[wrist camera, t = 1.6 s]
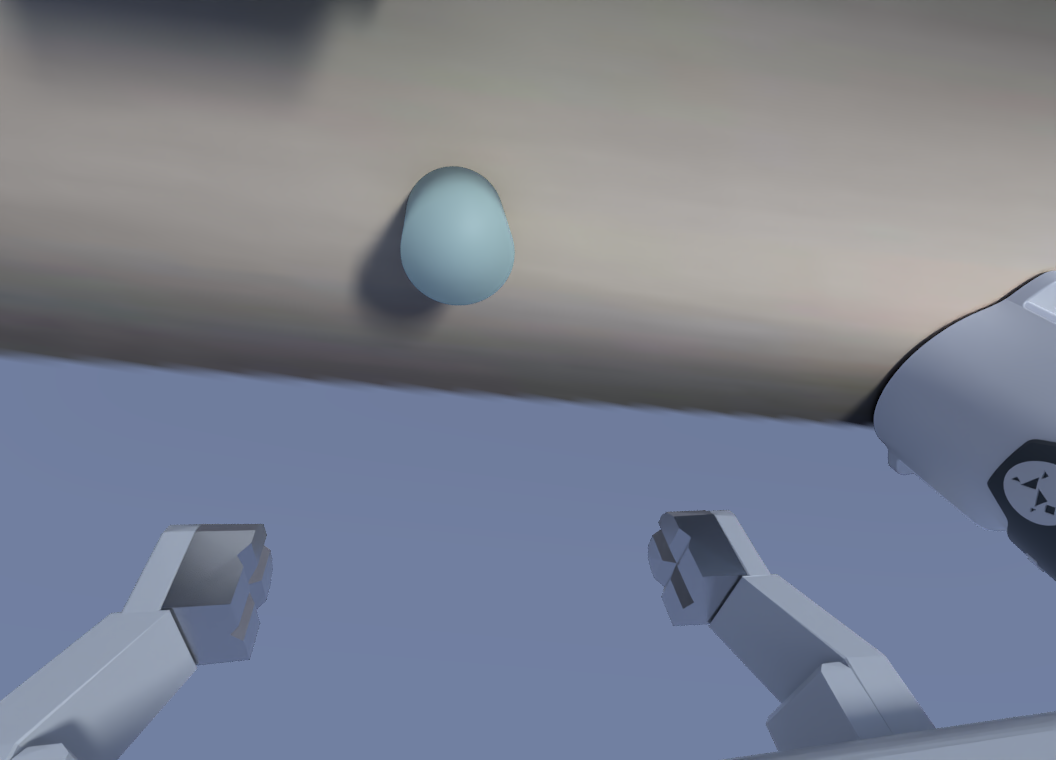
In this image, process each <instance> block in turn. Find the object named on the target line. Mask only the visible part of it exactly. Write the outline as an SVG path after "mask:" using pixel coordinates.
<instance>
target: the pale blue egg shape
mask: <svg viewBox="0 0 1056 760" xmlns="http://www.w3.org/2000/svg"><path fill="white" fill-rule="evenodd" d="M400 253H401V260H402V265H403V267H404V270H405V272H406V274H407V276H408V278H409V279H410V281H411V282H412V284H413V285H414V286H415V287H416V288H417V289H418V290H419V291H421V292H422V293H423V294H424V295H426V296H427V297H429V298H431V299H433V300H435V301H438V302H441V303H445V304H450V305H468V304H473V303H477V302H479V301H482V300H484V299H486V298H488V297H490V296H491V295H493V294H494V293H495V292H496V291H498V290H499V289H500V288H501V287H502V285H503V284H504V283H505V281H506V280H507V278H508V276H509V275H510V273H511V270H512V267H513V262H514V254H515V252H514V243H513V238H512V235H511V232H510V229H509V226H508V222H507V219H506V216H505V213H504V210H503V206H502V203H501V200H500V198H499V195H498V193H497V192H496V190H495V189H494V187H493V186H492V185H491V183H490V182H489V181H488V180H487V179H485V178H484V177H483V176H482V175H480V174H478V173H477V172H475V171H473V170H470V169H467V168H463V167H454V166H451V167H443V168H439V169H436V170H433V171H431V172H430V173H428V174H426V175H425V176H424V177H422V178H421V179H420V180H419V181H418V182H417V183H416V185H415V186H414V188H413V189H412V191H411V193H410V196H409V198H408V202H407V207H406V213H405V220H404V226H403V232H402V239H401V248H400Z"/></svg>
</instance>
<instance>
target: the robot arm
mask: <svg viewBox="0 0 1056 760" xmlns="http://www.w3.org/2000/svg"><path fill="white" fill-rule="evenodd" d="M874 429H875V432H876V434H877V436H878V437H879V439H880V440H881V441H882V442H883V443H884V444H885V445H886V446H887V448H888V463H889V466H890V467H891V468H893V469H894V470H895V471H896V472H897V473H899V474H901V475H907V474H916V475H917V476H918V477H919V478H920V479H922V480H923V481H924V482H925V483H926V484H927V485H929V486H930V487H931V488H932V489H933V490H935V491H936V492H937V493H938V494H939V495H941V496H942V497H943V498H944V499H945V500H947V501H948V502H949V503H950V504H951V505H953V506H954V507H955V508H956V509H957V510H958V511H960V512H961V513H962V514H963V515H964V516H966V517H967V518H968V519H969V520H971V521H972V522H973V523H974V524H976V525H977V526H979V527H980V528H982V529H985V530H993V531H1006V532H1007V534H1008V537H1009V539H1010V540H1011V541H1012V542H1013V543H1014V544H1015V545H1016V546H1017V547H1018V548H1019V549H1020V550H1021V551H1023V552H1024V553H1025V554H1026V556H1027V557H1028V559H1029V560H1030V561H1031V562H1032V563H1033V564H1034V565H1035V566H1037V567H1038V568H1039V569H1040V570H1042V571H1043V572H1044V571H1045V572H1046V573H1047V574H1048V575H1049V576H1050V577H1052V578H1053V579H1054V580H1055V581H1056V271H1049V272H1046V273H1044V274H1042V275H1040V276H1038V277H1037V278H1035V279H1033V280H1032V281H1030V282H1029V283H1027V284H1026V285H1025V286H1023V287H1022V288H1020V289H1019V290H1017V291H1016V292H1015V293H1013V294H1012V295H1011V296H1009V297H1008V298H1006V299H1005V300H1003V301H1001V302H999V303H997V304H995V305H993V306H991V307H988V308H986V309H984V310H981V311H979V312H977V313H974V314H972V315H970V316H968V317H966V318H964V319H962V320H960V321H958V322H957V323H955V324H953V325H951V326H950V327H948V328H947V329H945V330H943V331H942V332H940V333H939V334H938V335H936V336H935V337H933V338H932V339H931V340H929V341H928V342H927V343H925V344H924V345H923V346H922V347H921V348H919V349H918V350H917V351H916V352H915V353H914V354H913V355H912V356H911V357H910V358H909V359H908V360H907V361H906V362H905V363H904V364H903V365H902V366H901V367H900V368H899V369H898V370H897V372H896V373H895V374H894V375H893V377H892V378H891V379H890V381H889V382H888V384H887V385H886V387H885V388H884V390H883V392H882V394H881V396H880V398H879V400H878V402H877V405H876V408H875V412H874ZM658 523H659V525H660V528H661V530H659V531H658V532H657V533H655V534H654V535H652V538H651V540H650V543H649V545H648V559H649V564H650V568H651V571H652V574H653V576H654V578H655V579H656V580H657V581H658V582H659V583H660V584H662V585H663V586H664V589H663V593H662V600H663V602H664V604H665V607H666V609H667V612H668V615H669V617H670V619H671V622H672V624H673V626H680V625H681V626H682V625H700V624H710V625H709V627H710V628H711V629H712V630H713V631H714V633H715V634H716V635H717V636H718V637H719V638H720V639H721V640H722V641H723V642H724V643H725V644H726V645H727V646H728V647H729V648H730V649H731V650H732V652H733V653H734V654H735V655H737V657H738V658H739V659H740V660H741V661H742V662H743V663H744V664H745V665H746V666H747V667H748V668H749V670H751V672H752V673H753V674H754V675H755V676H756V677H757V678H758V679H759V680H760V681H761V682H762V683H763V684H764V685H765V686H766V687H767V688H768V690H769V691H770V692H771V693H772V694H773V695H774V696H775V697H776V698H777V699H778V700H779V701H780V702H781V703H782V704H781V705H780V706H779V707H778V708H777V709H776V710H775V711H774V712H773V713H772V714H771V715H770V716H769V717H768V720H767V722H766V726H767V728H768V730H769V732H770V734H771V737H772V739H773V741H774V743H775V745H776V747H777V750H778V752H773V753H765V754H758V755H751V756H744V757H738V758H731V759H724V760H1056V711H1054V712H1047V713H1041V714H1033V715H1026V716H1020V717H1013V718H1006V719H999V720H992V721H985V722H978V723H971V724H965V725H958V726H951V727H944V728H937V729H936V728H935V726H934V725H933V724H932V722H931V721H930V719H929V718H928V716H927V715H926V714H925V712H924V711H923V709H922V708H921V706H920V705H919V704H918V702H917V701H916V699H915V698H914V696H913V695H912V694H911V692H910V691H909V689H908V688H907V686H906V685H905V684H904V682H903V681H902V679H901V678H900V676H899V675H898V673H897V672H896V671H895V669H894V668H893V666H892V665H891V663H890V662H889V661H888V659H887V658H886V656H885V655H884V654H882V653H881V652H879V651H878V650H877V649H876V648H874V647H873V646H872V645H870V644H869V643H868V642H866V641H865V640H864V639H862V638H861V637H859V636H858V635H857V634H856V633H854V632H853V631H852V630H850V629H849V628H848V627H846V626H845V625H844V624H842V623H841V622H840V621H838V620H837V619H836V618H834V617H833V616H831V615H830V614H829V613H828V612H826V611H825V610H824V609H822V608H821V607H820V606H818V605H817V604H816V603H814V602H813V601H812V600H810V599H809V598H808V597H806V596H805V595H804V594H802V593H801V592H800V591H798V590H797V589H796V588H794V587H793V586H792V585H790V584H789V583H788V582H786V581H785V580H784V579H783V578H781V577H780V576H779V575H777V574H770V572H769V571H768V569H767V567H766V566H765V564H764V563H763V561H762V559H761V558H760V556H759V554H758V553H757V551H756V549H755V548H754V546H753V544H752V543H751V541H750V539H749V538H748V536H747V534H746V533H745V531H744V530H743V528H742V526H741V524H740V523H739V521H738V520H737V518H736V516H735V515H734V514H733V513H732V512H731V511H729V510H720V511H705V510H703V511H680V512H666V513H665V514H663V515H662V516H661V518H660V520H659V522H658ZM266 536H267V534H266V531H265V527H264V524H199V525H197V524H196V525H170V526H169V527H168V528H167V529H166V530H165V531H164V532H163V533H162V535H161V536H160V538H159V540H158V542H157V544H156V546H155V548H154V550H153V552H152V554H151V556H150V558H149V560H148V562H147V564H146V566H145V568H144V570H143V572H142V573H141V575H140V577H139V579H138V581H137V583H136V585H135V587H134V589H133V591H132V593H131V595H130V597H129V599H128V601H127V603H126V604H125V606H124V609H123V610H122V612H120V613H119V612H118V613H111V614H110V615H108V616H107V617H106V618H105V619H103V620H102V621H101V622H99V623H98V624H97V625H96V626H95V627H93V628H92V629H91V630H89V631H88V632H87V633H86V634H84V635H83V636H82V637H81V638H79V639H78V640H77V641H76V642H74V643H73V644H72V645H70V646H69V647H68V648H67V649H66V650H64V651H63V652H62V653H60V654H59V655H58V656H57V657H56V658H54V659H53V660H52V661H51V662H49V663H48V664H47V665H45V666H44V667H43V668H41V669H40V670H39V671H38V672H37V673H35V674H34V675H33V676H32V677H30V678H29V679H28V680H26V681H25V682H24V683H23V684H21V685H20V686H19V687H17V688H16V689H15V690H14V691H12V692H11V693H10V694H9V695H8V696H6V697H5V698H4V699H2V700H1V701H0V760H117V759H118V758H119V757H120V756H121V755H122V753H123V752H124V751H125V750H126V749H127V748H128V747H129V745H130V744H131V743H132V742H133V741H134V740H135V739H136V738H137V736H138V735H139V734H140V733H141V732H142V731H143V730H144V728H145V727H146V726H147V725H148V724H149V723H150V722H151V721H152V719H153V718H154V717H155V716H156V715H157V714H158V713H159V711H160V710H161V709H162V708H163V707H164V706H165V705H166V703H167V702H168V701H169V700H170V699H171V698H172V696H173V695H174V694H175V693H176V692H177V691H178V690H179V689H180V687H181V686H182V685H183V684H184V683H185V682H186V681H187V679H188V678H189V677H190V676H191V675H192V674H193V672H194V671H195V670H196V669H197V667H196V665H205V664H214V663H224V662H233V661H242V660H250V657H251V653H252V650H253V647H254V643H255V640H256V636H257V632H258V629H259V625H260V621H259V617H258V614H257V609H258V608H259V607H260V606H261V605H262V604H263V603H264V602H265V601H266V600H267V596H268V592H269V589H270V584H271V576H272V555H271V551H270V549H268V548H267V547H265V546H264V543H265V540H266Z"/></svg>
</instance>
